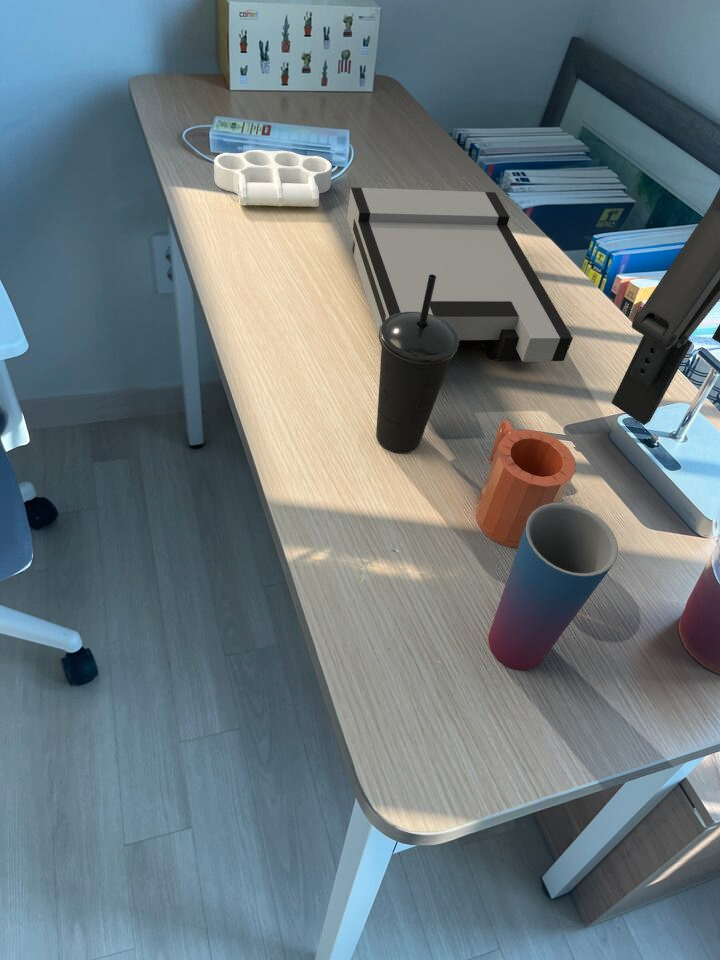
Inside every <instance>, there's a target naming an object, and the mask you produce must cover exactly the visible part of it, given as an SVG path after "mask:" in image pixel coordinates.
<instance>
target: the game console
mask: <svg viewBox="0 0 720 960" xmlns="http://www.w3.org/2000/svg"><path fill="white" fill-rule="evenodd" d="M349 190H350V191H349V198H348V205H347V206H348V207H347V216H346V220H347V223H348V226H349V229H350V232H351V236H352V239H353V243H352V249H351V251H352V254H353V258H354V261H355V266H356V268H357V272H358V275H359V278H360V282H361V284H362V288H363V291H364V295H365V298H366V302H367V304H368V305H367V306H368V307H369V312H370V314H371V318H372V321H373V324H374V328H375V331H376V334H377V337H378V340H379V343H380V347H381V348H382V341H381V339H380V328H381V325H382V324H383V322H384V321H385V320H386V319H387V318H388V317H390V316H392V315H394V314H397V313H401V312H421V311H422V306H423V301H424V296H425V292H426V287H427V282H428V277H429V275H431V274H432V275H435V276H436V281H435V285H434V290H433V294H432V299H431V303H430V308H429V313H428V314H431V315H434V316H436V317H439V318H441V319H443V320H444V321H446V322H447V323H449V324H450V325H451V326H452V327H453V328H454V329H455V331H456V332H457V334H458V337H459V341H480V343H481V345H482V347H483V349H484V351H485V354H486V356H487V358H488V360H489V361H498V362H520V361H521V362H524V363H525V362H527V363H528V362H529V363H531V362H564V361H565V360H566V356H567V354H568V352H569V349H570V346H571V344H572V341H573V339H574V337H573V336H572V334H571V332H570V331H569V329H568V327H567V325H566V324H565V322H564V320H563V318H562V317H561V315H560V313H559V312H558V310H557V308H556V306H555V304H554V303H553V302H552V300H551V297H550V296H549V294H548V292H547V291H546V289H545V287H544V286H543V284H542V282H541V280H540V279H539V277H538V275H537V274H536V272H535V270H534V269H533V267H532V265H531V263H530V261H529V259H528V258H527V256H526V255H525V253H524V251H523V249H522V248H521V246H520V244H519V243H518V241H517V239H516V238H515V236H514V234H513V233H512V231H511V229H510V227H509V226H508V225H509V220H510V215H509V213H508V212H507V210H506V208H505V206H504V205H503V203H502V201H501V199H500V197H499V196H498V195H497V193H496V192H495V191H472V190H471V191H470V190H469V191H465V190H436V189H435V190H434V189H410V188H409V189H407V188H383V187H382V188H379V187H378V188H377V187H352V186H351V187H350V189H349Z"/></svg>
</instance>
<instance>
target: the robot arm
mask: <svg viewBox="0 0 720 960" xmlns="http://www.w3.org/2000/svg"><path fill="white" fill-rule="evenodd" d="M719 301H720V187H719V189H718V190H717V192H716V194H715V196H714V198H713V200H712V201H711V203H710V206H709V207H708V208H707V210H706V211H705V213H704V215H703V216H702V217H701V219H700V221H699V222H698V223H697V225H696V227H695V228H694V230H693V231H692V233H691V234H690V236H689V237H688V239H687V240H686V242H685V243H684V244H683V246H682V248H681V249H680V251H679V252H678V253H677V255H676V256H675V258H674V259H673V261H672V263H671V264H670V266H669V267H668V269H666V272H665V273H664V275H662V278H661V279H660V281H659V282H658V284H657V285H656V287H655V288H654V290H653V291H652V292H651V293H650V295H649V297H648V298H647V300H646V301H645V303H644V305H643V306H642V307H641V309H638V310H637V311H636V313H635V315H634V317H633V321H632V323H631V329H632V330H634V331H636V332H637V333H639V334H640V335H642V338H641V339H640V341H639V343H638V346H637V348H636V349H635V352H634V355H633V356H632V358H631V361H630V362H629V365H628V366H627V369H626V371H625V373H624V375H623V377H622V379H621V381H620V383H619V385H618V388H617V390H616V391H615V394H614V396H613V398H612V400H611V402H610V403H611V405H613V406H615V407H616V408H618V409H619V410H620V411H622V412H624V413H625V414H627V415H628V416H629V417H631V418H632V419H633V420H635V421H637V422H638V423H639V424H641V425H642V426H645V425H647V424H648V423H650V422H651V420H652V419H653V418H654V414H655V413H656V411H657V410H658V407H660V404H661V402H662V400H663V399H664V397H665V395H666V393H667V391H668V389H669V387H670V385H671V383H672V381H673V380H674V378H675V376H676V374H677V372H678V371H679V369H680V367H681V365H682V363H683V361H684V359H685V357H686V356H687V354H688V352H689V350H690V348H691V347H692V345H693V341H691V340H689V339H690V337H691V336H692V335H693V333H694V332H695V331H696V330H697V328H698V327H699V326H700V325H701V323H703V321H704V320H705V318H706V317H707V316H708V315H709V313H711V311H712V310H713V309H714V307H715V306H716V305H717V303H718V302H719ZM711 339H712V340H713V341H716V342H717V343H719V344H720V323H719V324H718V326H717V328H716V329H715V331H714V333H713V335H712V337H711Z"/></svg>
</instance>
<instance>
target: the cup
mask: <svg viewBox="0 0 720 960" xmlns="http://www.w3.org/2000/svg"><path fill="white" fill-rule="evenodd" d="M516 549H517V550H516V552H515V556H514V559H513V561H512V565H511V567H510V571H509V573H508V577H507V579H506V582H505V584H504V585H505V586H504V588H503V591H502V594H501V597H500V600H499V603H498V606H497V608H496V612H495V615H494V618H493V621H492V624H491V626H490V630H489V633H488V638H487V641H488V646H489V649H490V651H491V653H492V655H493V656H494V658H495V659H496V660H497V661H498V662H499V663H500V664H502V665H503V666H505V667H507V668H509V669H513V670H516V671H530V670H532V669H535V668H537V667H538V666H539V665H540V664H541V663H542V661H543V660H544V659H545V658H546V656H547V655H548V654H549V652H550V651H551V650H552V648H553V647H554V646H555V644H556V643H557V642H558V640H559V639H560V638H561V636H562V635H563V633H564V632H565V631H566V629H567V628H568V627H569V625H570V624H571V623H572V622H573V620H574V619H575V617H576V616H577V614H578V613H579V612H580V611H581V609H582V608H583V606H584V605H585V604H586V602H587V601H588V600H589V599H590V597H591V596H592V594H594V592H595V591H596V589H597V587H598V586H599V585H600V584H601V582H602V581H603V580H604V578H605V577H606V576H607V574H608V573H609V571H610V570H611V569H612V567H613V566H614V565H615V563H616V561H617V558H618V555H619V545H618V541H617V538H616V536H615V534H614V532H613V530H612V529H611V527H610V526H609V525H608V524H607V523H606V522H605V521H604V520H603V519H602V518H601V517H600V516H598V515H597V514H595V513H594V512H592V511H590V510H589V509H587V508H585V507H582V506H580V505H576V504H573V503H566V502H560V503H551V504H546V505H543V506H541V507H539V508H537V509H536V510H535V511H533V512H532V514H531V515H530V516H529V518H528V520H527V523H526V526H525V529H524V532H523V535H522V537H521V540H520V543H519V546H518V548H516Z"/></svg>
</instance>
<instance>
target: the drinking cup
mask: <svg viewBox="0 0 720 960" xmlns="http://www.w3.org/2000/svg"><path fill="white" fill-rule="evenodd" d="M435 281H436V276H435V275H432V274H431V275H429V277H428V282H427V287H426V292H425V296H424V301H423V306H422V311H421V312H401V313H397V314H394V315H392V316H390V317H388V318H387V319H386V320H385V321H384V322H383V324H382V325H381V328H380V339H381V341H382V347H381V351H380V366H379V380H378V381H379V383H378V401H377V413H376V415H377V417H376V430H375V432H376V433H375V436H376V441H377V442H378V443H379V445H380V446H381V447H382V448H384V449H385V450H387V451H388V452H392V453H395V454H408V453H411V452H413V451H415V450H416V449H417V448H418V447H419V446H420V443H421V441H422V438H423V436H424V433H425V430H426V428H427V426H428V422H429V419H430V417H431V414H432V411H433V408H434V406H435V404H436V401H437V399H438V395H439V393H440V390H441V386H442V385H443V382H444V379H445V376H446V375H447V371H448V368H449V366H450V363H451V361H452V358H453V357H454V355H455V354H456V353H457V352H458V349H459V346H460V340H459V337H458V334H457V332H456V331H455V329H454V328H453V327H452V326H451V325H450V324H449V323H447V322H446V321H444V320H443V319H441V318H439V317H436V316H434V315H431V314H428V313H429V308H430V303H431V299H432V294H433V290H434V285H435Z"/></svg>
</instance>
